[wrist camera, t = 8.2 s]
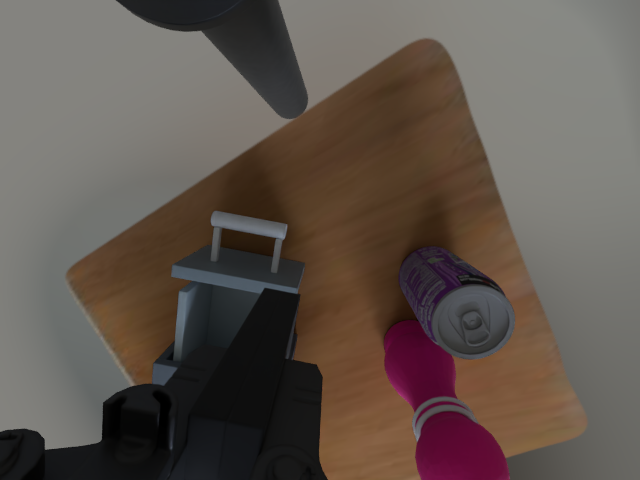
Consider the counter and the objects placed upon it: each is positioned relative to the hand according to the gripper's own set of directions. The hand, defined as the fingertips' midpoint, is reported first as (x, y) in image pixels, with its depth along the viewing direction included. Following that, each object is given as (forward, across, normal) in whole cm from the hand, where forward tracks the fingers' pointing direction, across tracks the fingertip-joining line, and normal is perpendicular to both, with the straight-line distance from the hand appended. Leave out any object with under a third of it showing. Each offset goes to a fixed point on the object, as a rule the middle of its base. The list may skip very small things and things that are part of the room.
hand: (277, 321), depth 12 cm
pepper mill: (+22, +14, -12) cm, 29 cm away
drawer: (+21, -6, -8) cm, 24 cm away
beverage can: (+22, +14, -3) cm, 27 cm away
